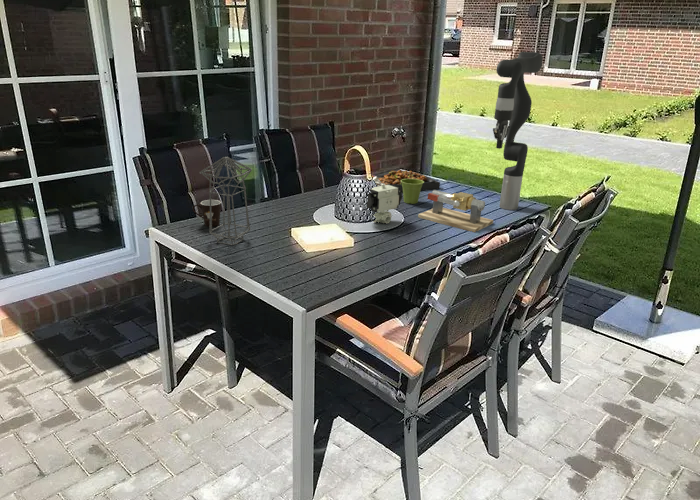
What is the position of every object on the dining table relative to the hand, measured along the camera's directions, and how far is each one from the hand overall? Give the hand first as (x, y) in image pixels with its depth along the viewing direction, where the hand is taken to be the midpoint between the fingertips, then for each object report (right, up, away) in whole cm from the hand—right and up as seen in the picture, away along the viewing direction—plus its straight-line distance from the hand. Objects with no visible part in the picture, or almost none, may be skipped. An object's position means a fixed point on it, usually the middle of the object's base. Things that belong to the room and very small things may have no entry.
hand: (499, 148), depth 246 cm
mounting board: (-17, -32, +14) cm, 38 cm away
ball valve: (-52, -33, +8) cm, 62 cm away
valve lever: (-17, -25, +3) cm, 30 cm away
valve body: (-17, -30, +13) cm, 37 cm away
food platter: (-41, -10, +69) cm, 81 cm away
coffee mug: (-129, -34, -2) cm, 133 cm away
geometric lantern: (-116, -42, -22) cm, 125 cm away
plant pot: (-35, -21, +40) cm, 57 cm away
